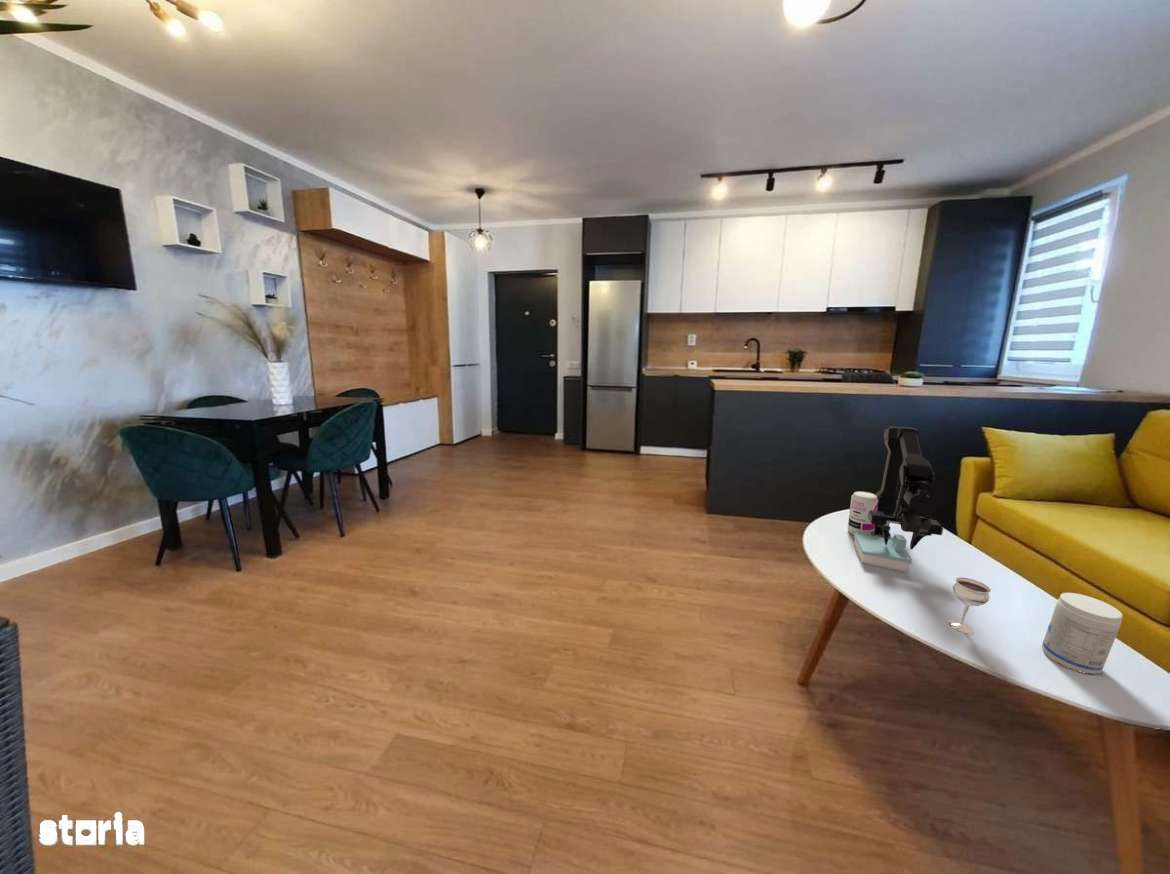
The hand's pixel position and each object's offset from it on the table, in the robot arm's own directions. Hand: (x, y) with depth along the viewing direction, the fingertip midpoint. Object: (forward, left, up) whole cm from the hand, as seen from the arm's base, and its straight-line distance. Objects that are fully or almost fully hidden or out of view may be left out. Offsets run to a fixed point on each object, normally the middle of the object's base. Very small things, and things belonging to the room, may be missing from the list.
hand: (898, 546), depth 140 cm
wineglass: (+32, +7, -5) cm, 33 cm away
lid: (0, -4, -2) cm, 5 cm away
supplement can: (-18, -6, -5) cm, 20 cm away
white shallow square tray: (0, -4, -5) cm, 7 cm away
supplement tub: (+36, +26, -6) cm, 44 cm away
